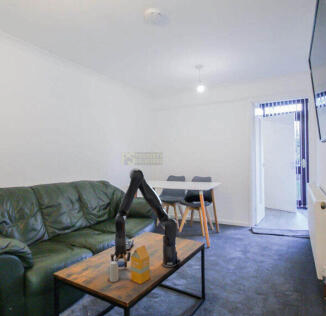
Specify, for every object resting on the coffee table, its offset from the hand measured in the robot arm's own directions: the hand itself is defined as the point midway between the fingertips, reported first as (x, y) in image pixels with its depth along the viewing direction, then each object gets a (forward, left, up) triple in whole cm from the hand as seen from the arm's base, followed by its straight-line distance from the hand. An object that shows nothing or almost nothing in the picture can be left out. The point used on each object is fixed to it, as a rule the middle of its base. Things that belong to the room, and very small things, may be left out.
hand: (120, 268), depth 165 cm
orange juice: (-7, +18, -1) cm, 19 cm away
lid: (0, 0, +3) cm, 3 cm away
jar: (+8, +12, -1) cm, 14 cm away
